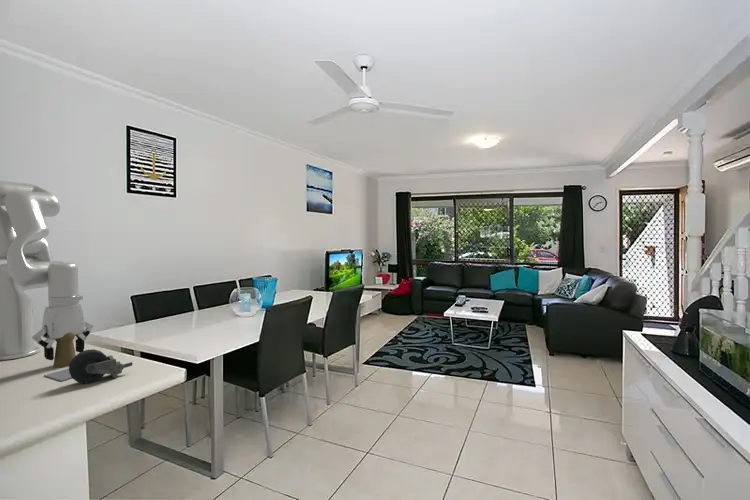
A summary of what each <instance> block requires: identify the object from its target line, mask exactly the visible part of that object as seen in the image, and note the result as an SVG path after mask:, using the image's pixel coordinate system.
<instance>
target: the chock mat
mask: <svg viewBox="0 0 750 500" xmlns="http://www.w3.org/2000/svg"><path fill="white" fill-rule="evenodd" d="M43 377H45V378H49V379H52V380H56V381H59V382H64V381H67V380H72V379H73V378H72V377H71V375H70V373H69V368H66V369H62V370H59V371H55V372H52V373H47V374H44V375H43Z"/></svg>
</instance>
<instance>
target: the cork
mask: <svg viewBox="0 0 750 500" xmlns="http://www.w3.org/2000/svg"><path fill="white" fill-rule="evenodd" d="M75 337H76V336H75V335H74V334H73V333H67V334H65V335H64V336H63V337H62V338H59V339H56V340H55V341H54V342H56V343H55V344H56V345H55V351H54V359H53V366H52V367H53V368H57V369H58V368H59V369H61V368H69V364H70V362H71V361H72V359H73V358H74V357H75V356H76V355H77V354H76V348H75V344H74V339H75Z"/></svg>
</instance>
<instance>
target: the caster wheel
mask: <svg viewBox="0 0 750 500" xmlns="http://www.w3.org/2000/svg"><path fill="white" fill-rule="evenodd" d="M132 366H133V362H132V361H131V362H126V363H121V362H120V361H117V358H114V357H113V355H106V354H104V353H103V351H101V350H97V349H84V351H83V352H78V353H77V354H76V356H75V357H74V358H73V359H72V361H71V362H70V364H69V366H68V369H69V373H70V375H71V377H72V379H73V380H74V381H75V382H76V383H78V384H79V383H80V384H91V383H94V382H96V381H99V380H101V378H103V377H104V376H105V375H110V376H111V377H112V379H117V378H118V375H120V374H122V373H123V370H124V369H125V368H128V367H132Z"/></svg>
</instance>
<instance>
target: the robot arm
mask: <svg viewBox="0 0 750 500" xmlns="http://www.w3.org/2000/svg"><path fill="white" fill-rule="evenodd" d="M3 207H5V209H4V208H3ZM60 210H61V204H60V202H59V200H58V198H57V196H55V194H53V193H52V192H50V191H47V190H46V189H44V188H42V187H40V186H39V185H36V184H32V183H24V182H23V183H22V182H15V181H14V182H13V181H5V180H0V261H6V263H3V264H0V361H3V360H5V361H7V360H13V359H21V358H25V357H29V356H32V355H36V354H38V353H39V352H40V347H39V346H38V345H40V346H41V347H42V348H43V356H44V357H43V358H45V360H48V361H54V357H55V351H54V347H53V344H54V342H56V341H55V340H56V339H59V338H62V337H63V336H64V335H65V334H67V333H73V334H74V335H75V337H76V339H75V353H76V352H77V353H80V352H83V351H85V341H86V340H87V337H88V336H89V335H90V334H91V331H92V330H93V328H94V325H93V324H92V323H88V322H87V321H85V316H84V312H83V310H84V309H83V307H82V304H81V303H80V301H81V300H83V295H80V294H79V267H78V264H76V263H74V262H64V261H61V260H54V259H53V255H52V252H51V247H50V245H49V242H48V240H47V238H46V237H48V235H49V234H50V228H49V226H48V224H47V221H46V217H48V218H52V217H56V216H57V215H59V213H60ZM43 288H47V289H48V291H47V292H48V293H47V295H48V296H47V298H48V306H45V308H44V313H43V317H42V324H41V325H42V326H41V329H40V330H39V331H37V332H36V333H34V315H33V314H34V313H33V311H34V310H33V309H34V308H33V302H32V299H31V298H30V297H29V295H28V294H27V293H26V292H24V291H25V290H27V291H28V290H32V289H43ZM43 338H45V340H43ZM34 342H36V343H37V344H38V345H34Z"/></svg>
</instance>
